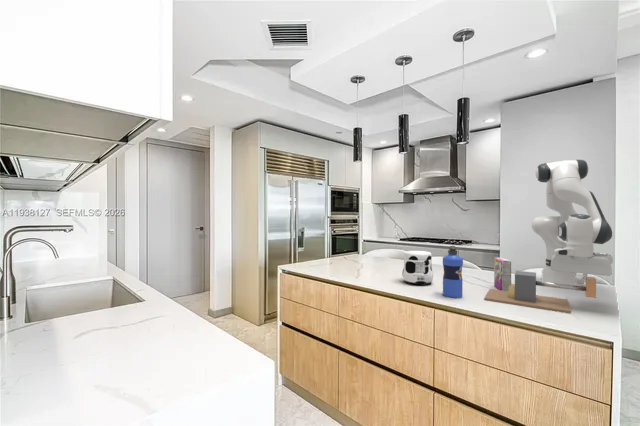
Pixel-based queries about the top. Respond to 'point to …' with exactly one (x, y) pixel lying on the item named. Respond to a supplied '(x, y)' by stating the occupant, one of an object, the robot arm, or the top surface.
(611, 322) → the top surface
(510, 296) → the spacer
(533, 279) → the bearing stand
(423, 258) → the milk container
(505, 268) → the candy bar box
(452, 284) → the water bottle
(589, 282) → the shaft
